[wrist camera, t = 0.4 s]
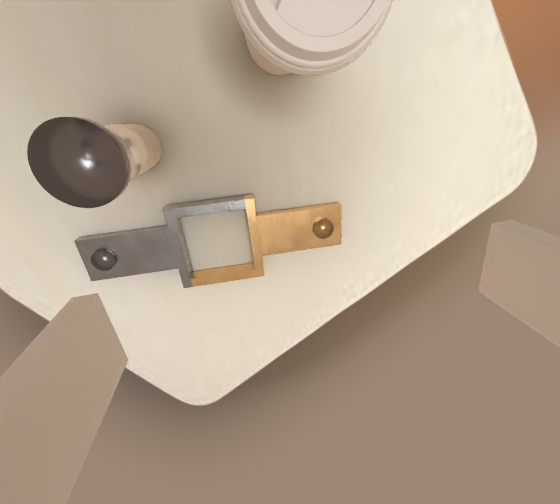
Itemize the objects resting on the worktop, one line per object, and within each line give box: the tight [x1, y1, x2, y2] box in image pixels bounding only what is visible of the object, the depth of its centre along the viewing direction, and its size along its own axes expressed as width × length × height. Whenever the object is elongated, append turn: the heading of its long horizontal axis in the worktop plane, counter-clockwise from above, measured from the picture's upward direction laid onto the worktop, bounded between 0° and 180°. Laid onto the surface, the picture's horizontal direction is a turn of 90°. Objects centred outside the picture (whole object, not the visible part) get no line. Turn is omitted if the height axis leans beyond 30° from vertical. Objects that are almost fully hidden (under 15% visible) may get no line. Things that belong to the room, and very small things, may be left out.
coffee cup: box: [230, 0, 393, 76], centre depth 21 cm, size 10×10×15 cm
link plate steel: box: [75, 195, 246, 288], centre depth 34 cm, size 10×19×2 cm, turn 95°
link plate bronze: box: [191, 194, 341, 287], centre depth 35 cm, size 10×19×2 cm, turn 96°
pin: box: [27, 117, 162, 208], centre depth 24 cm, size 5×5×13 cm
